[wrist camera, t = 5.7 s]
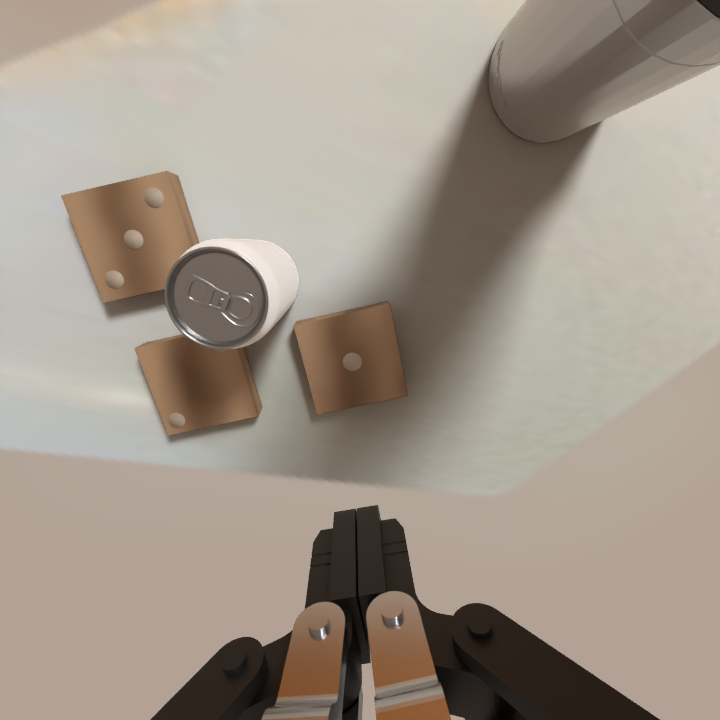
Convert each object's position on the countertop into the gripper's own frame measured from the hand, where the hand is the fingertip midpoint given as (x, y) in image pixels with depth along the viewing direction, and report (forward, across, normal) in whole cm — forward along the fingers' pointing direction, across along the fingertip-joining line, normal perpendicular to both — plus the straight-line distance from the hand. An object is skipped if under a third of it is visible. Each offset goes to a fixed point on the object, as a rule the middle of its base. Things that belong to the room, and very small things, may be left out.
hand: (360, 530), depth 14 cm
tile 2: (+23, +13, 0) cm, 26 cm away
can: (+23, +7, -8) cm, 25 cm away
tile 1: (+23, 0, 0) cm, 23 cm away
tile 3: (+23, +15, -12) cm, 30 cm away
